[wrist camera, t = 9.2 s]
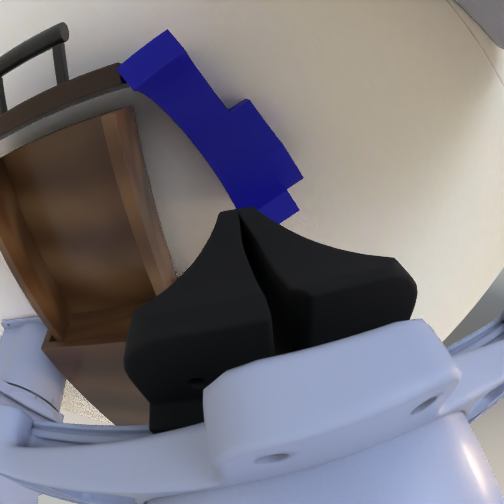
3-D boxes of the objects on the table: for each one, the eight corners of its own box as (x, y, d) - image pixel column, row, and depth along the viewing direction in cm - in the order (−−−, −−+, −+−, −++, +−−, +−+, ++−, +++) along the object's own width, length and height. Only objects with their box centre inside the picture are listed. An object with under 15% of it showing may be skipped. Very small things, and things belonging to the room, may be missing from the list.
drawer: (-17, 83, 11) (-55, 92, 7) (131, 12, 12) (111, -8, 8) (68, 312, 24) (55, 350, 20) (191, 293, 25) (192, 335, 21)
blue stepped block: (289, 164, 21) (321, 195, 16) (240, 198, 22) (256, 239, 17) (194, 32, 14) (195, 11, 9) (138, 72, 15) (115, 69, 10)
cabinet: (60, 297, 24) (40, 348, 18) (194, 274, 25) (196, 332, 19) (133, 397, 35) (131, 438, 29) (229, 386, 36) (237, 429, 30)
